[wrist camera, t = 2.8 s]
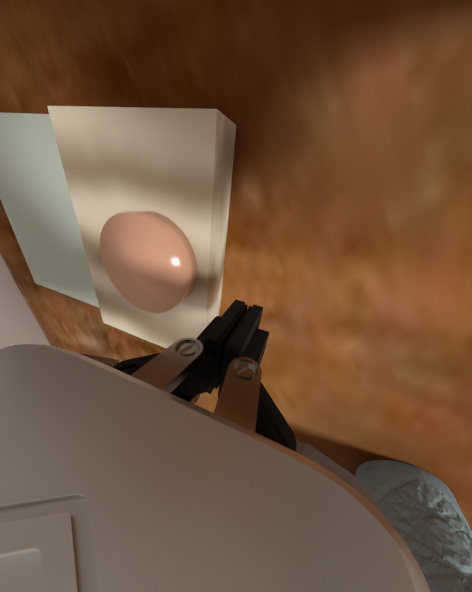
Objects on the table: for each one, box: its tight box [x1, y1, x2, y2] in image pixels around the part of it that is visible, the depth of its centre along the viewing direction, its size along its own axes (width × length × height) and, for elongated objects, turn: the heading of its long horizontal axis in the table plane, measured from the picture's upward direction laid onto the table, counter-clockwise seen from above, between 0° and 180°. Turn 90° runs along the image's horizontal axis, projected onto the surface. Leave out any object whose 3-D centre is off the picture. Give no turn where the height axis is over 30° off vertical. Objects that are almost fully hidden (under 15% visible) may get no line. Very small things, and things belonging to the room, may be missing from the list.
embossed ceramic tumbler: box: [355, 460, 472, 592], centre depth 17 cm, size 10×10×12 cm
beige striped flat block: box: [47, 106, 237, 348], centre depth 19 cm, size 20×14×3 cm
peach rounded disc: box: [100, 211, 197, 313], centre depth 16 cm, size 8×8×2 cm
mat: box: [0, 113, 99, 307], centre depth 24 cm, size 20×16×1 cm
